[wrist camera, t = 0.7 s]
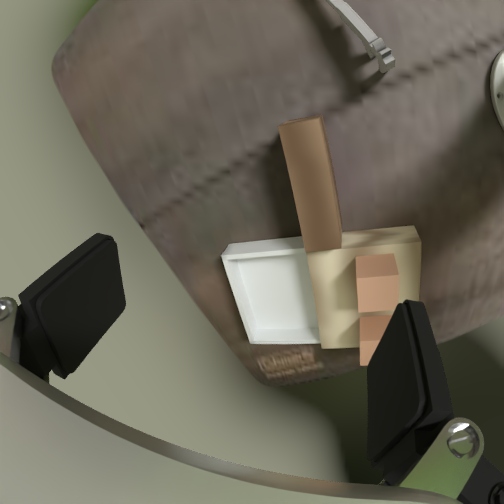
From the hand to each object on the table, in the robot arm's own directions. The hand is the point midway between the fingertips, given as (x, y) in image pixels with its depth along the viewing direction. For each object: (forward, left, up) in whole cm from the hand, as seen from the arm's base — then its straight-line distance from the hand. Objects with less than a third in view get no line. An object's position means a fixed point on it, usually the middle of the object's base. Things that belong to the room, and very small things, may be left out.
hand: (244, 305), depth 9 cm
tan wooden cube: (-5, +20, -21) cm, 29 cm away
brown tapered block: (0, +2, -25) cm, 25 cm away
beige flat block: (-4, +16, -25) cm, 30 cm away
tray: (+7, +16, -25) cm, 30 cm away
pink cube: (-5, +12, -21) cm, 24 cm away
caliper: (-5, -17, -25) cm, 31 cm away
